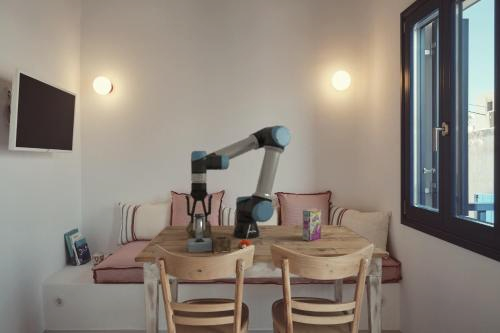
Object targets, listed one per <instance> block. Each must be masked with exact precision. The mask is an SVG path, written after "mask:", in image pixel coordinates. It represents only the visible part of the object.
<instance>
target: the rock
mask: <svg viewBox="0 0 500 333" xmlns="http://www.w3.org/2000/svg"><path fill="white" fill-rule="evenodd" d="M186 232H187V234H188V237H191V236H192V237H196V218H195V230H193V223H191V220H189V222H188V224H187V226H186ZM211 234H212V224H211V222H210V220H208V219H207V222H205V230H204V229H203V238H205V237H206V238H210V236H212V235H211Z"/></svg>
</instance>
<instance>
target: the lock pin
mask: <svg viewBox="0 0 500 333" xmlns="http://www.w3.org/2000/svg"><path fill="white" fill-rule="evenodd" d="M194 216H195V219H196V236H195V239H196V243H198V242H203V238H204V237H203V216H204V213H202V212H201V213H199V212H198V213H194Z"/></svg>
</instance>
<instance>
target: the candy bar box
mask: <svg viewBox="0 0 500 333" xmlns="http://www.w3.org/2000/svg"><path fill="white" fill-rule="evenodd" d="M321 229H322V209H321V208H310V209H304V210H302V241H306V242H311V241H315V240H318V239H321V238H322V237H321V236H322V234H321V233H322V231H321Z"/></svg>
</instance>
